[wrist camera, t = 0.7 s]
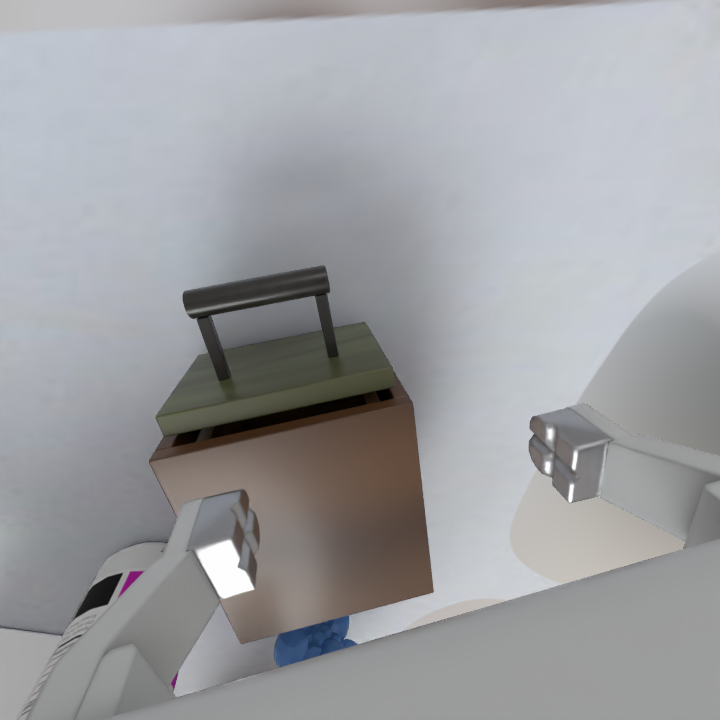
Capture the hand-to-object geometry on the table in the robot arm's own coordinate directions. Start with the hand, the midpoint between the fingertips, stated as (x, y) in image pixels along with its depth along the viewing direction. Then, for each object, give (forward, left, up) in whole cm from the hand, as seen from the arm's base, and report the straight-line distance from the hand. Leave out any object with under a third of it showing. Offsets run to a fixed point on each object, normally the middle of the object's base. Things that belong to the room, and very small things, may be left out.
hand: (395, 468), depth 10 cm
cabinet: (+10, -4, -16) cm, 19 cm away
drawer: (+5, -4, -15) cm, 17 cm away
